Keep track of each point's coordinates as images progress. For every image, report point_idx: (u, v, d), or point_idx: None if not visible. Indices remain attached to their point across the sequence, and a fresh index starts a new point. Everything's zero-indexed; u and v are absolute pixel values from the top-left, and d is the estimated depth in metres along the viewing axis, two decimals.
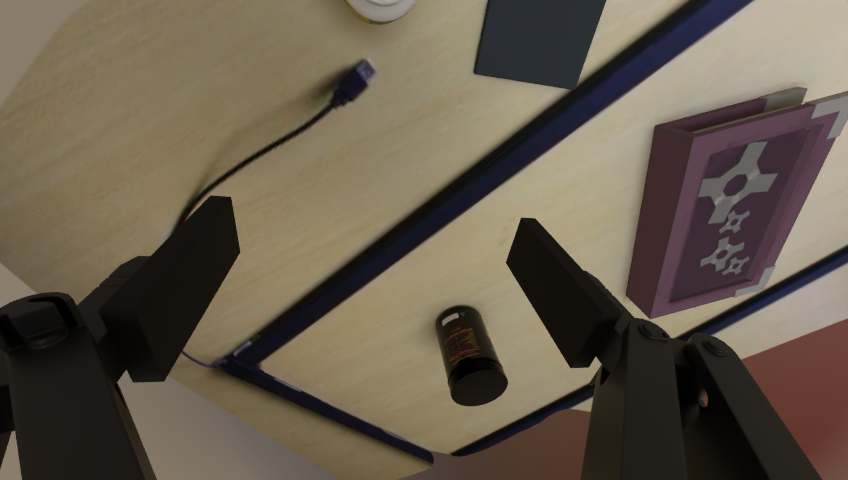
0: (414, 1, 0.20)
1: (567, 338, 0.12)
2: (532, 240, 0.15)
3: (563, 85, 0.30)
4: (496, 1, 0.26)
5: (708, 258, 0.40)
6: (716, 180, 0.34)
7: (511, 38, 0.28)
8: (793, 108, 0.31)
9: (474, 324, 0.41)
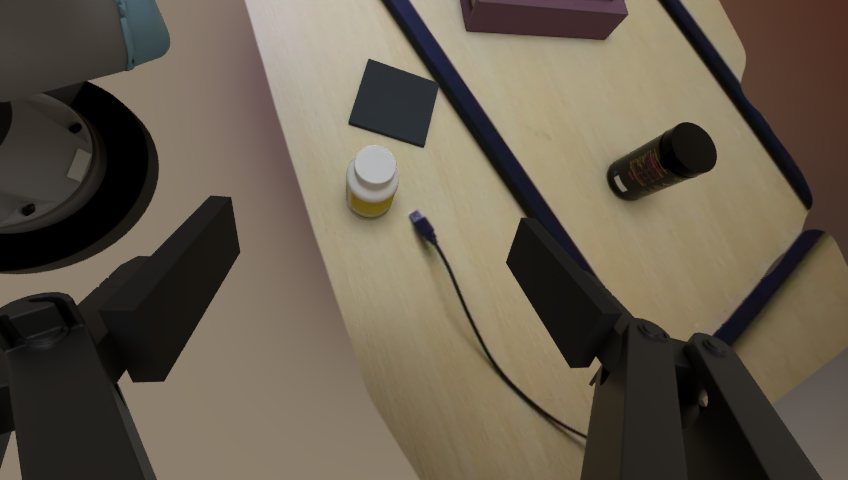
0: None
1: (567, 338, 0.12)
2: (531, 240, 0.15)
3: (436, 90, 0.45)
4: (385, 129, 0.42)
5: None
6: None
7: (405, 121, 0.42)
8: None
9: (626, 160, 0.45)
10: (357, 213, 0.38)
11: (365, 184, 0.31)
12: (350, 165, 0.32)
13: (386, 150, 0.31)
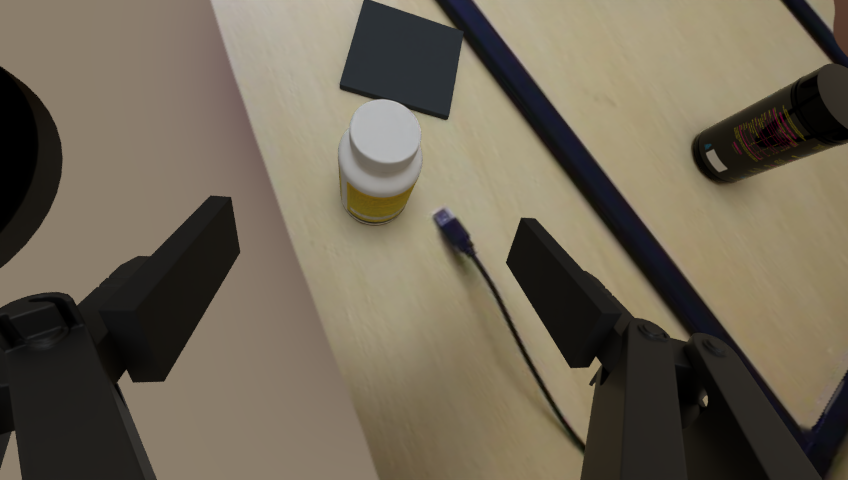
0: None
1: (567, 338, 0.12)
2: (532, 240, 0.15)
3: (459, 41, 0.32)
4: (393, 95, 0.29)
5: None
6: None
7: (421, 83, 0.30)
8: None
9: (726, 127, 0.33)
10: (358, 216, 0.25)
11: (370, 166, 0.18)
12: (343, 138, 0.20)
13: (403, 107, 0.18)
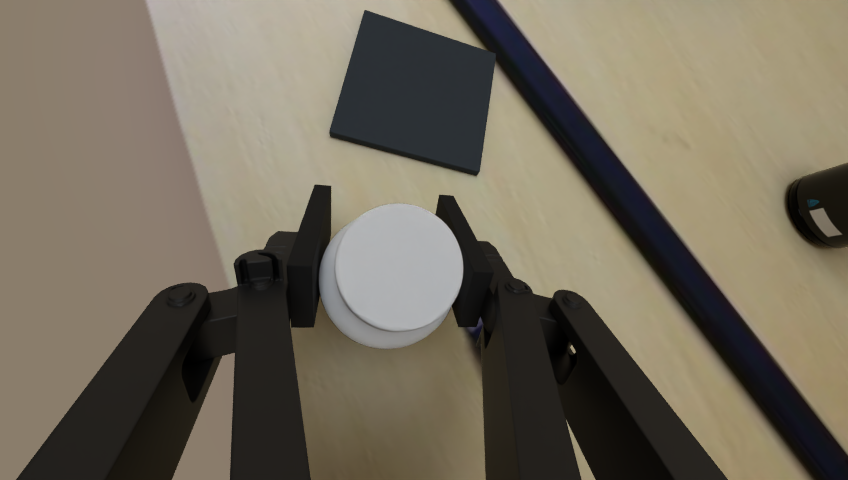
0: None
1: (457, 300, 0.13)
2: (443, 214, 0.16)
3: (491, 66, 0.24)
4: (403, 144, 0.21)
5: None
6: None
7: (441, 127, 0.22)
8: None
9: (843, 181, 0.25)
10: None
11: (372, 326, 0.10)
12: (328, 255, 0.12)
13: (431, 217, 0.10)
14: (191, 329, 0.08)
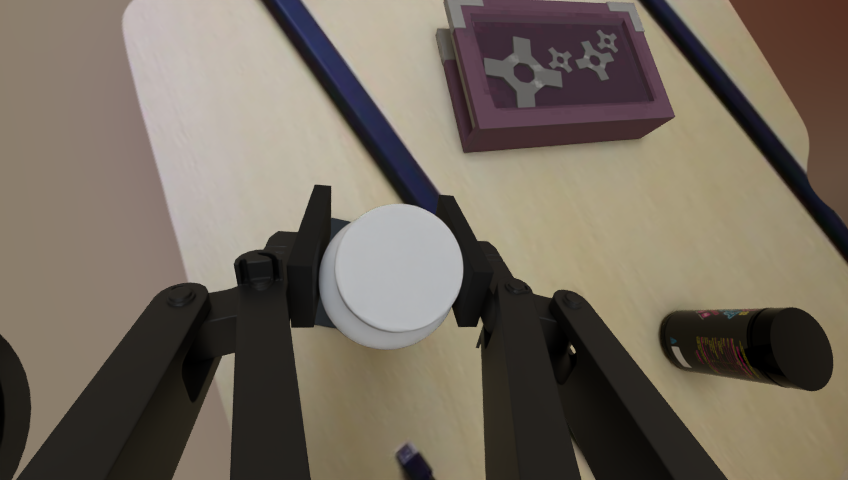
0: None
1: (457, 300, 0.13)
2: (443, 214, 0.16)
3: None
4: None
5: (599, 72, 0.38)
6: (519, 93, 0.34)
7: None
8: (456, 44, 0.34)
9: (689, 331, 0.33)
10: None
11: (372, 326, 0.10)
12: (328, 256, 0.12)
13: (431, 218, 0.10)
14: (191, 329, 0.08)
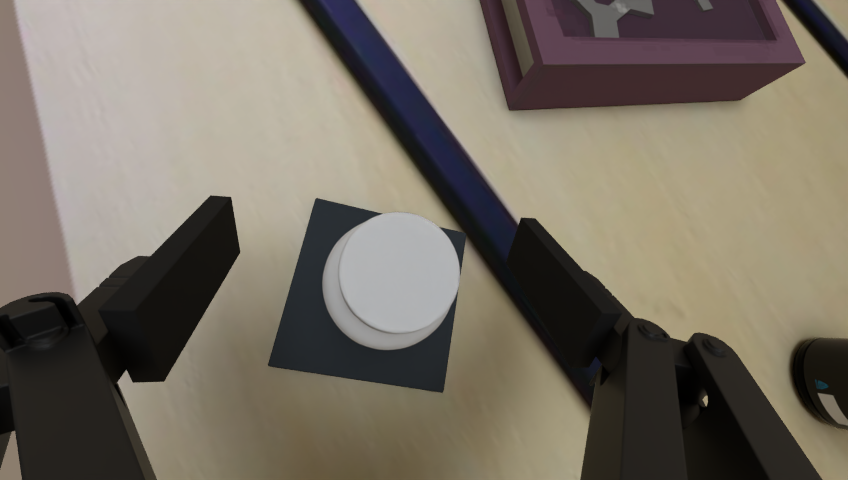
0: None
1: (567, 338, 0.12)
2: (531, 240, 0.15)
3: (460, 251, 0.21)
4: (355, 370, 0.18)
5: None
6: (596, 18, 0.23)
7: None
8: None
9: None
10: None
11: (374, 328, 0.11)
12: (331, 260, 0.12)
13: (429, 225, 0.11)
14: None
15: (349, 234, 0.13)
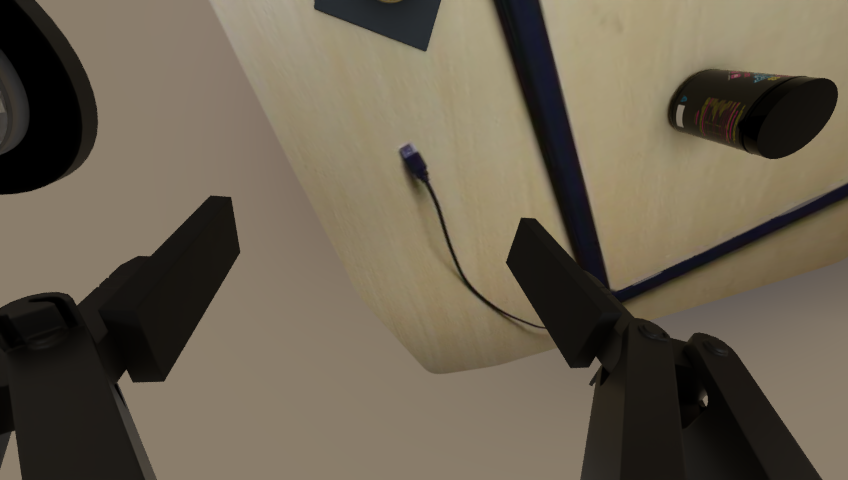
0: None
1: (567, 338, 0.12)
2: (531, 240, 0.15)
3: None
4: (370, 23, 0.28)
5: None
6: None
7: (401, 6, 0.28)
8: None
9: (706, 90, 0.33)
10: None
11: None
12: None
13: None
14: None
15: None
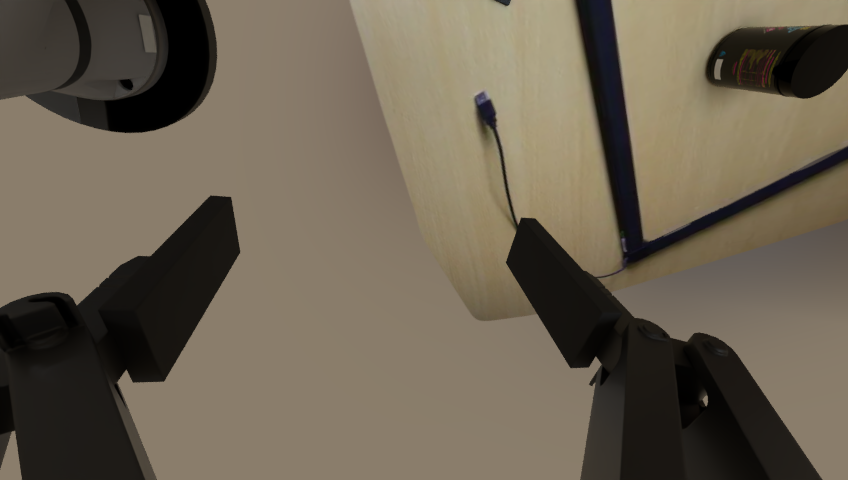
0: None
1: (567, 338, 0.12)
2: (531, 240, 0.15)
3: None
4: None
5: None
6: None
7: None
8: None
9: (744, 44, 0.38)
10: None
11: None
12: None
13: None
14: None
15: None
